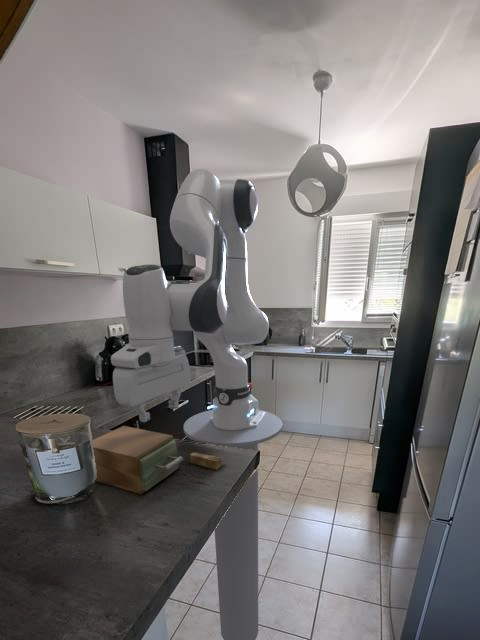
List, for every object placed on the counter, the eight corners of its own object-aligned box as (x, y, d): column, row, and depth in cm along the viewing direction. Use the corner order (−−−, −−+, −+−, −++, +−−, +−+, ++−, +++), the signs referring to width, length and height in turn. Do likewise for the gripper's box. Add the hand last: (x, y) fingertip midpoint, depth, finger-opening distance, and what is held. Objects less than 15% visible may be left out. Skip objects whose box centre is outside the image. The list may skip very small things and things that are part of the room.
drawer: (192, 471, 90) (189, 443, 87) (161, 495, 80) (156, 464, 77) (133, 456, 98) (128, 430, 95) (97, 477, 88) (92, 448, 85)
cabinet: (176, 469, 93) (173, 435, 90) (141, 494, 82) (135, 457, 78) (128, 457, 100) (123, 425, 96) (90, 479, 89) (82, 444, 85)
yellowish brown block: (189, 463, 96) (189, 455, 95) (194, 460, 98) (194, 451, 97) (216, 470, 93) (216, 461, 92) (221, 466, 95) (221, 457, 94)
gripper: (173, 343, 83) (178, 400, 89) (103, 358, 67) (115, 426, 73) (195, 345, 81) (199, 403, 86) (127, 361, 64) (137, 431, 70)
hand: (160, 414), depth 79 cm, fingers open, 8 cm apart
